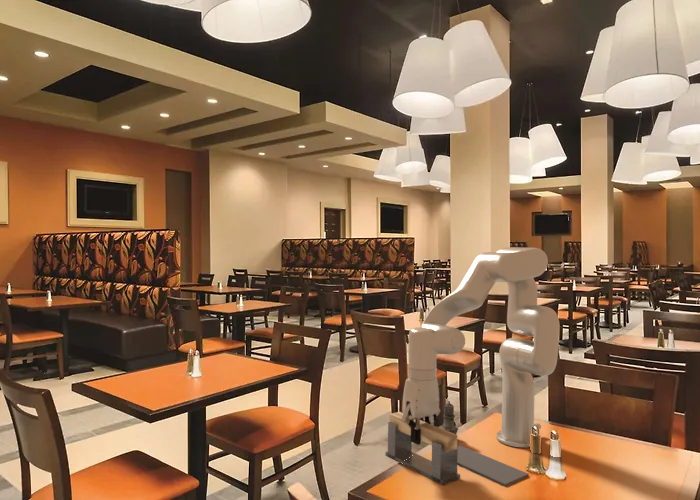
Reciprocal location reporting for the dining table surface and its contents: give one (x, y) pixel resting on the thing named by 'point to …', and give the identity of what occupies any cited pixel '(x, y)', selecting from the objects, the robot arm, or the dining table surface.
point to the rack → (437, 469)
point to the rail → (427, 432)
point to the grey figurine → (449, 419)
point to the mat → (488, 467)
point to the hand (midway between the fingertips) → (421, 440)
